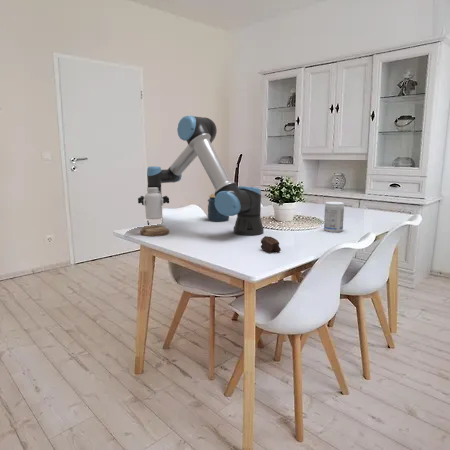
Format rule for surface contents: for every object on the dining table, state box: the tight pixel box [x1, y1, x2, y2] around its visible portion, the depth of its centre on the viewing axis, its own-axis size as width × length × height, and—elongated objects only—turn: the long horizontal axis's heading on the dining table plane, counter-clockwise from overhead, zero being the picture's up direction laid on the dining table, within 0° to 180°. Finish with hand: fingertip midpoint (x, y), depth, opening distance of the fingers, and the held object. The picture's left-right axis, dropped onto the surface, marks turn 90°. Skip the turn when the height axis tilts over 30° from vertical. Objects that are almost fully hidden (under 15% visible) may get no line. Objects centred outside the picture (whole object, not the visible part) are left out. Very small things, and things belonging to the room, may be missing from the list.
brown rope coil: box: [139, 224, 170, 237], centre depth 183 cm, size 14×14×3 cm
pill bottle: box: [144, 187, 163, 220], centre depth 180 cm, size 8×8×15 cm
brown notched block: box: [260, 235, 282, 254], centre depth 152 cm, size 6×7×10 cm
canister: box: [207, 193, 230, 222], centre depth 220 cm, size 13×13×18 cm
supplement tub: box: [323, 201, 345, 233], centre depth 192 cm, size 10×10×15 cm
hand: (153, 202), depth 176 cm, fingers closed on pill bottle, 8 cm apart
